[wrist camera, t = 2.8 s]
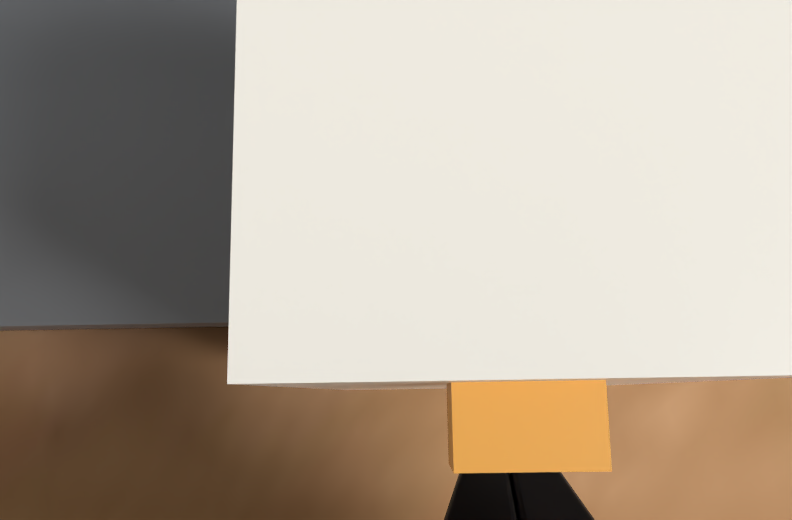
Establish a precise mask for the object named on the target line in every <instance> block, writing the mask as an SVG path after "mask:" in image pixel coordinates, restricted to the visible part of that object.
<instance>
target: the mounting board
mask: <svg viewBox="0 0 792 520" xmlns="http://www.w3.org/2000/svg"><path fill="white" fill-rule="evenodd" d="M236 13H237V0H0V331H1V330H59V329H117V328H175V327H229V291H230V251H231V211H232V171H233V132H234V92H235V52H236Z"/></svg>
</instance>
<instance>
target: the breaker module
mask: <svg viewBox="0 0 792 520" xmlns="http://www.w3.org/2000/svg"><path fill="white" fill-rule="evenodd" d="M769 378H792V0H237V13H236V52H235V92H234V132H233V171H232V211H231V251H230V291H229V330H228V370H227V384H236V385H256V386H276V387H296V388H316V389H336V390H374V389H440V388H447V417H448V455H449V465H450V467H451V469H452V471H453V473H523V472H602V471H612V466H611V451H610V435H609V419H608V404H607V388H606V385H627V384H650V383H674V382H698V381H722V380H746V379H769Z"/></svg>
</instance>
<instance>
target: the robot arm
mask: <svg viewBox="0 0 792 520" xmlns="http://www.w3.org/2000/svg"><path fill="white" fill-rule="evenodd" d="M444 520H594V518H593V517H592V515H591V514H590V513H589V511H588V510H587V508H586V507H585V506H584V504H583V503H582V501H581V500H580V499H579V497H578V496H577V494H576V493H575V492H574V490H573V489H572V487H571V486H570V484H569V483H568V482H567V480H566V479H565V477H564V476H563V475H562V473H561V472H523V473H459V476H458V479H457V482H456V485H455V488H454V491H453V494H452V497H451V500H450V503H449V506H448V509H447V512H446V515H445V518H444Z"/></svg>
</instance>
